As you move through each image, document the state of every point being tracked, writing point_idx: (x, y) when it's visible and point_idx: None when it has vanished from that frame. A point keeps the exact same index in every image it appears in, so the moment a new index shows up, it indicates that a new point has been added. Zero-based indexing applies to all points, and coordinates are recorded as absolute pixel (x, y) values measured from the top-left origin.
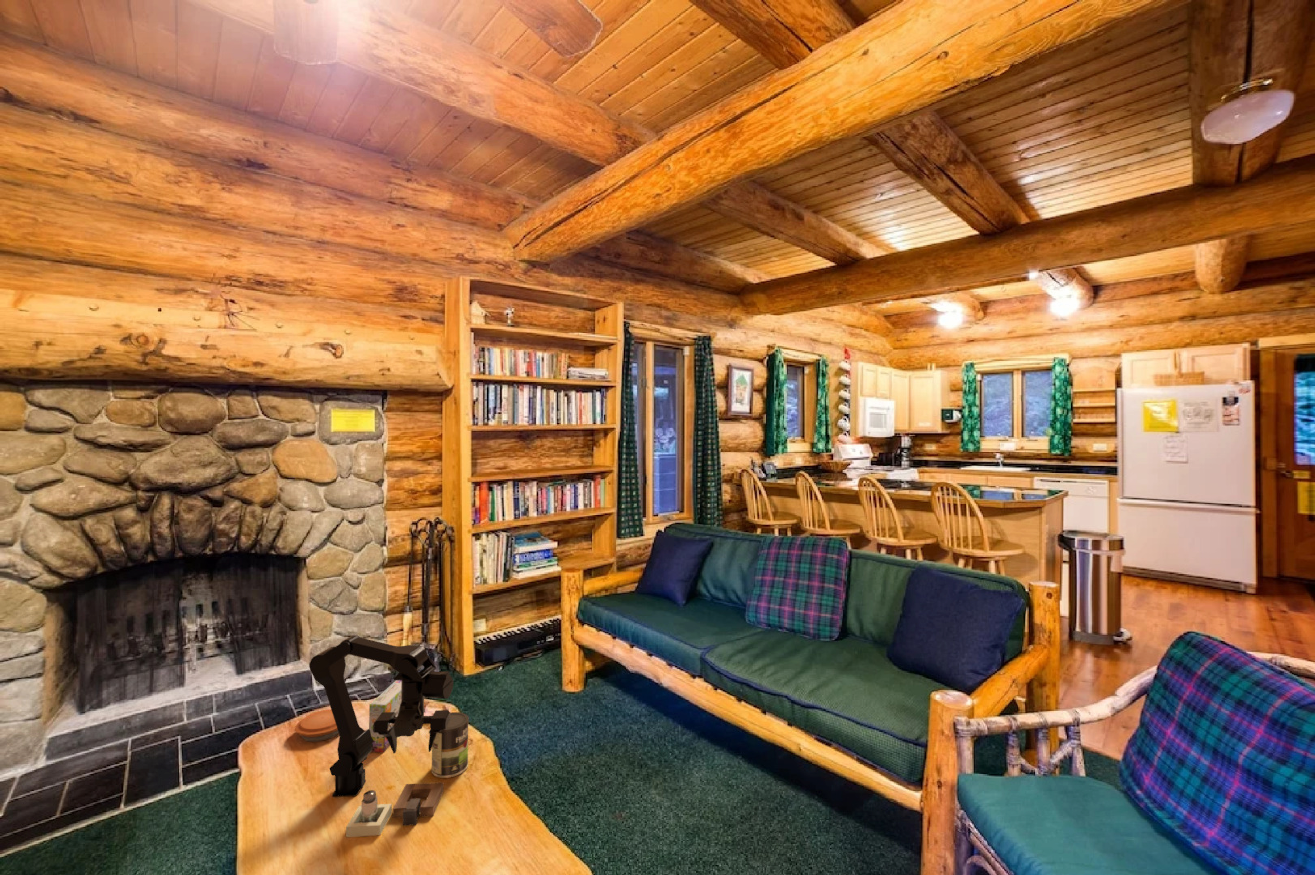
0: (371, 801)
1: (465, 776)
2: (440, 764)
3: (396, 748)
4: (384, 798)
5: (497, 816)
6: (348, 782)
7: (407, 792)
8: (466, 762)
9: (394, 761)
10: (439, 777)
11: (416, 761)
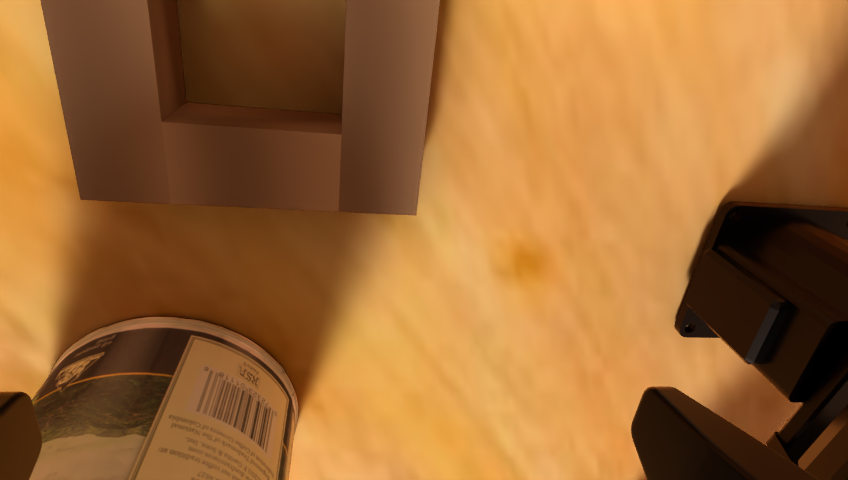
0: None
1: (13, 323)
2: (177, 392)
3: (647, 475)
4: (547, 151)
5: None
6: (838, 254)
7: (375, 97)
8: None
9: (535, 470)
10: (212, 325)
11: (414, 468)
